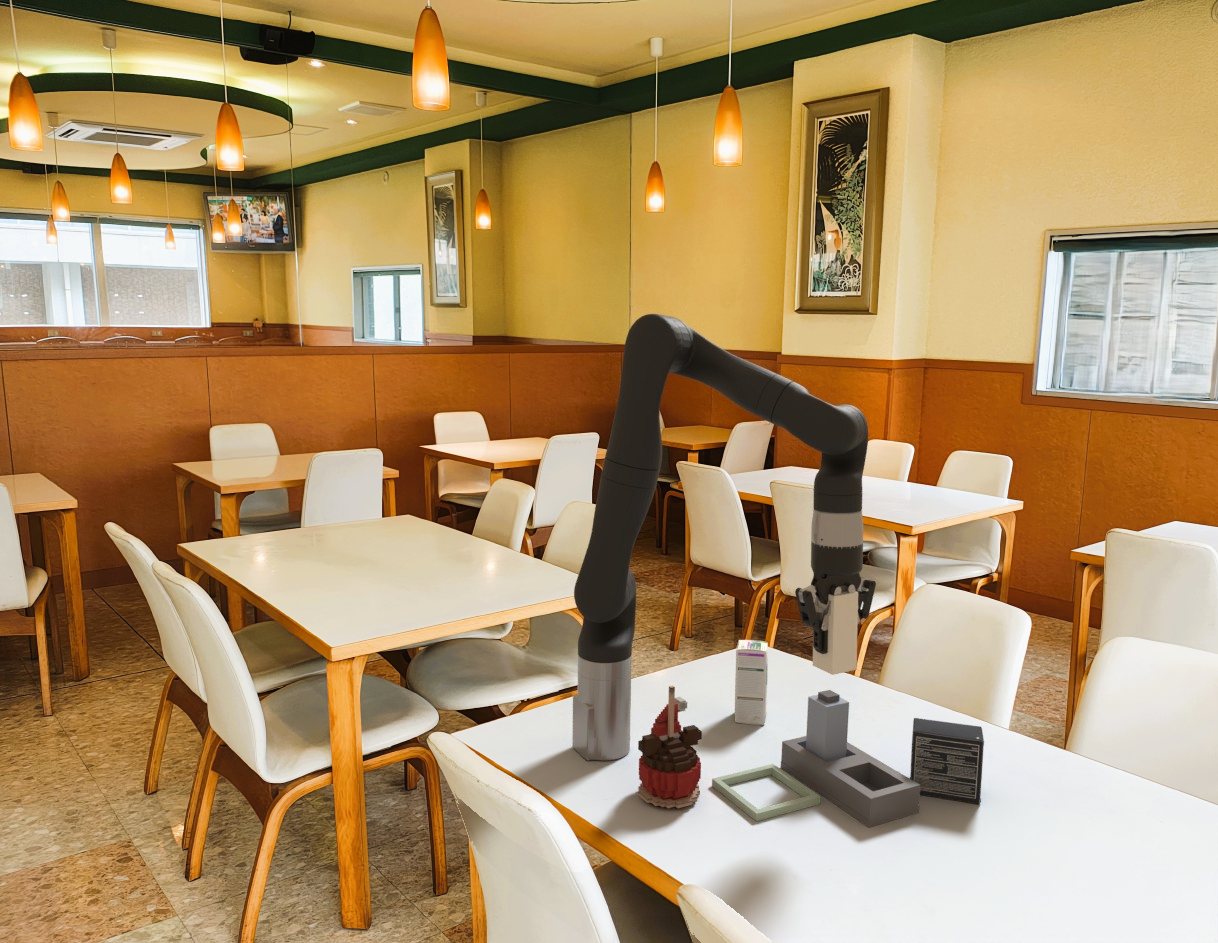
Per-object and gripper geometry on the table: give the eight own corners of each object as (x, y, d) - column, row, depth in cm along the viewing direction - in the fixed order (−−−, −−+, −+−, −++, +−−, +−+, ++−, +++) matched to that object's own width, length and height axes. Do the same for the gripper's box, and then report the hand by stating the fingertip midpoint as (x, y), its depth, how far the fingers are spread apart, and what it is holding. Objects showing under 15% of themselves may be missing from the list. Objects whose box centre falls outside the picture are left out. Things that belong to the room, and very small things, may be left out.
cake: (654, 818, 135) (657, 703, 132) (624, 790, 143) (626, 681, 140) (714, 802, 140) (718, 691, 137) (682, 776, 148) (685, 671, 145)
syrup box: (765, 726, 168) (768, 650, 166) (733, 722, 169) (736, 648, 167) (766, 713, 173) (769, 640, 171) (735, 710, 174) (737, 638, 172)
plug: (832, 674, 134) (834, 589, 133) (812, 665, 138) (813, 582, 137) (856, 669, 136) (858, 585, 135) (836, 660, 140) (837, 578, 139)
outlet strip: (868, 827, 133) (870, 798, 132) (780, 767, 152) (781, 741, 151) (918, 812, 137) (920, 784, 137) (827, 755, 156) (828, 730, 155)
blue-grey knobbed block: (823, 777, 146) (827, 701, 144) (805, 765, 150) (808, 690, 148) (845, 771, 148) (849, 696, 146) (826, 760, 152) (830, 686, 150)
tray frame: (756, 821, 134) (756, 813, 134) (711, 785, 145) (712, 778, 145) (820, 803, 140) (820, 796, 139) (772, 770, 150) (773, 763, 150)
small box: (978, 786, 146) (983, 725, 144) (980, 805, 140) (985, 741, 138) (909, 775, 149) (913, 715, 148) (908, 793, 143) (913, 731, 142)
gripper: (815, 549, 128) (813, 665, 131) (891, 538, 135) (888, 649, 137) (782, 540, 135) (781, 650, 137) (856, 530, 141) (854, 635, 144)
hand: (835, 649), depth 137 cm, fingers closed on plug, 4 cm apart
